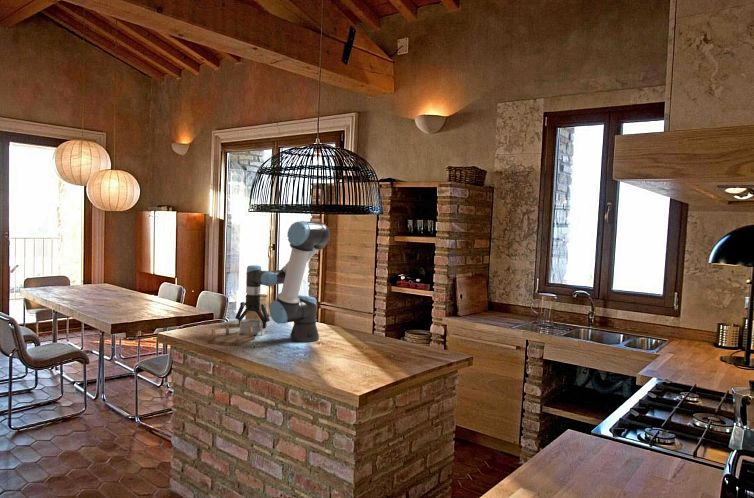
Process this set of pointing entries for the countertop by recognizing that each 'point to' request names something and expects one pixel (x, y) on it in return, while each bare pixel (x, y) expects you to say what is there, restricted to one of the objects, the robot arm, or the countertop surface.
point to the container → (262, 301)
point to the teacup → (251, 323)
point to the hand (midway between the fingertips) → (251, 333)
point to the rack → (231, 338)
